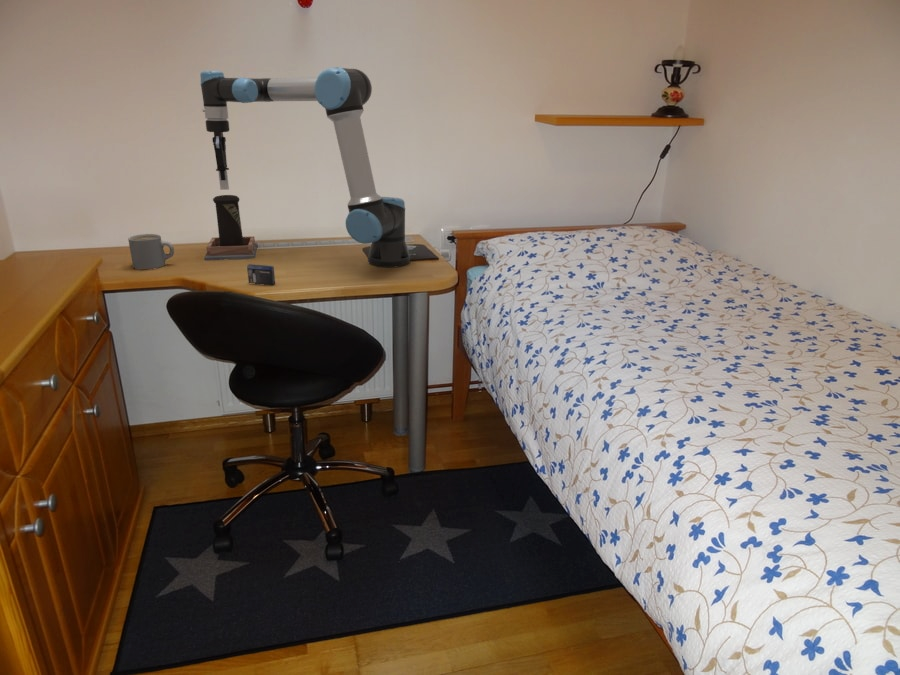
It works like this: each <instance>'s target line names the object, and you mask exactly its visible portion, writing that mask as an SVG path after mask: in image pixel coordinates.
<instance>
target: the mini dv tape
mask: <svg viewBox="0 0 900 675" xmlns="http://www.w3.org/2000/svg"><path fill="white" fill-rule="evenodd" d="M246 268H247V275H248V276H247V279H248V284H249V283H255V284H254V285H260V284H264V285H263V286H275V285H276V277H275V266H274V265H267V264H266V265H265V264H263V265H262V264H251V263H250V264H247V266H246Z"/></svg>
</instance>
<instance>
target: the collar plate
mask: <svg viewBox="0 0 900 675" xmlns="http://www.w3.org/2000/svg"><path fill="white" fill-rule="evenodd" d="M255 241H256V239H255V236H243V244H244V246H220V241H219V236H218V237H211V238H210V240H209V242H208V244H207V245H206V253H205V255H204V257H203V258H204V260H203V261H223V260H224V259H228V260H248V259H249V258H254V259H255V258H256V253H257V250H258V246H259V242H255ZM220 259H221V260H220ZM249 260H250V259H249Z"/></svg>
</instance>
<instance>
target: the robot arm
mask: <svg viewBox="0 0 900 675" xmlns="http://www.w3.org/2000/svg"><path fill="white" fill-rule="evenodd" d="M200 86H201V89H200V90H201V95H202V100H203V102H202V103H203V109H202V110H201V111H202V112H203V113H204V118H205V119H207V120H205V127H206V128H205V129H206V131H207V132H208V133H213V137H212V138H211V139H212V145H213V147H214V154H215V162H216V169H215V171H216V172H218V178H219V179H218V180H219V187H220V188H219V189H220V190H227V191H228V190H229V189H230V186H229V179H228V171H229V170H230V168H229V167H228V162H227V161H228V160H227V150H226V149H227V145H226V142H227V140H226V139H227V138H226V136H224V133H227V132H228V133H229V132H230V122H229V120H228V119H229V111H228V105H227V104H228V102H230V103H231V102H232V103H242V104H248V103H254V102H258V103H259V102H262V103H269V102H317V103H319V105H321V106H322V107H323V108H324V110H325V113H326V118H327V119H328V120H330V121H331V122H332V123H333V127H334V131H335V134H336V140H337V144H338V148H339V151H340V152H339V153H340V157H341V161H342V166H343V170H344V174H345V180H346V184H347V188H348V192H349V196H350V199H349V201H348V202H347V209H348V214H347V216H346V218H345V228H346V232H347V233H348V235H349V236H350V238H352V239H353V240H354V241H356V242H358V243H359V244H365V245H366V244H370V243H371V244H370V247H369V251H368V254H367V263H368V262H369V263H370V264H369V263H368V264H369V265H371V264H372V266H374V265H375V267H379V266H381V267H382V268H396V267H395V266H398V267H403V266H406V264H407V265H408V264H410V263H409V262H411V253H410V252H409V249H408V246H407V242H406V205H405V204H406V203H405V200H404V199H403V198H399V197H389V196H381V195H380V194H378V193H377V190H376V186H375V180H374V176H373V171H372V166H371V162H370V158H369V152H368V148H367V144H366V143H367V142H366V139H365V135H364V134H365V132H364V129H363V125H362V119H361V116H362V114H363V113H364V107H363V106H364V105H365V104H367V102H368V101H369V100H370V98H371V95H372V91H373V90H372V83H371V80H370V78H369V77H368V75H367V74H366V73H365V72H364V71H362V70H360V69H357V68H348V67H347V68H346V67H338V66H336V67H331V68H330V67H329V68H326V69H325V70H322V71H321V72H320V73H319V74H318V76H305V77H304V76H302V77H276V78H275V77H274V78H273V77H272V78H270V77H269V78H267V77H265V78H263V77H262V78H250V77H248V78H247V77H225V75H224V72H223V71H221V70H220V71H218V70H202V71H201V72H200ZM381 267H380V268H381Z"/></svg>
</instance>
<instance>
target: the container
mask: <svg viewBox="0 0 900 675" xmlns="http://www.w3.org/2000/svg"><path fill="white" fill-rule="evenodd" d="M212 201H213V202H214V204H215V210H216V211H215V212H216V218H217V230H218V231H217V232H218V237H219V241H220V246H244V244H243V237H244V235H243V230H242V222H241V214H240V206H239V202H240V197H239V196H238V195H234V194H222V195H216V196H215V197H213V198H212Z"/></svg>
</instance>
